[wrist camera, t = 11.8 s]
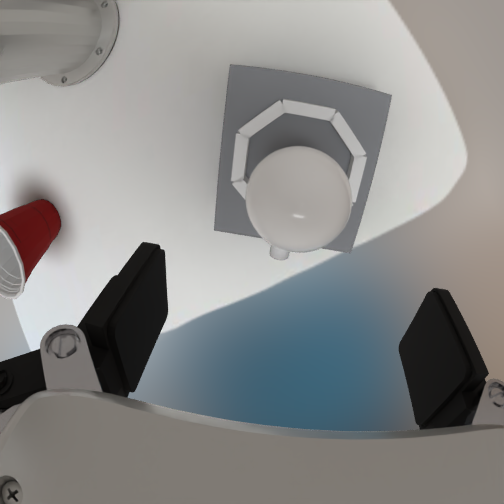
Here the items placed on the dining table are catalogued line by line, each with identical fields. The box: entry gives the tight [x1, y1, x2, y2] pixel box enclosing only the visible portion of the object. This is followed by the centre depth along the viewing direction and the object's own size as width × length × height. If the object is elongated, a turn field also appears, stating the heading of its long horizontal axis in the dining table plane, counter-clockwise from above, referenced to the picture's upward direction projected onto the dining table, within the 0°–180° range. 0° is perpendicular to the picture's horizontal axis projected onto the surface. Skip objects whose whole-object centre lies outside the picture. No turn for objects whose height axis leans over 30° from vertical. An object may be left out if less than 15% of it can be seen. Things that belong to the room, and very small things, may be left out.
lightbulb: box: [245, 146, 352, 253], centre depth 20 cm, size 6×6×11 cm
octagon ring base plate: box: [214, 65, 392, 260], centre depth 27 cm, size 18×13×6 cm
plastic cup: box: [0, 199, 61, 299], centre depth 32 cm, size 11×11×12 cm
